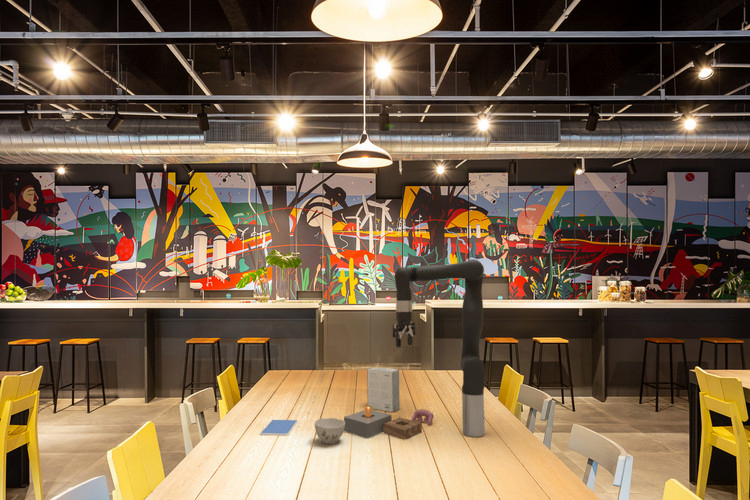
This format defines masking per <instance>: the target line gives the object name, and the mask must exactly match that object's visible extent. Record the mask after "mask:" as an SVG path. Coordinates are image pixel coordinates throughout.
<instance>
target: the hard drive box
mask: <svg viewBox="0 0 750 500" xmlns="http://www.w3.org/2000/svg"><path fill="white" fill-rule="evenodd" d="M366 373H367V379H366V380H367V406H371V410H376V411H378V410H379V411H383V412H390V413H394V412H396V411H398V410H400V409H401V408H400V407H401V406H400V402H401V401H400V370H399V369H395V368H386V367H377V366H376V367H375V366H373V367H372V368H368V369H367V372H366Z"/></svg>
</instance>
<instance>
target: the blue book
mask: <svg viewBox="0 0 750 500" xmlns="http://www.w3.org/2000/svg"><path fill="white" fill-rule="evenodd" d="M298 422H299V421H298V420H297V419H272V420H270V422H269V423H268V424H267V425H266V426H265V428H263V429H262V431H260V433H259V435H260V436H276V437H277V436H281V437H283V436H289V435H290V433H291V432H292V431H293V429H294V427H295V426H296V425H297V424H298Z"/></svg>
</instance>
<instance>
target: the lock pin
mask: <svg viewBox="0 0 750 500" xmlns="http://www.w3.org/2000/svg"><path fill="white" fill-rule="evenodd" d="M364 410H365V418H371V410H372V409H371V406H368V405H365V406H364Z"/></svg>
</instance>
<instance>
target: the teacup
mask: <svg viewBox="0 0 750 500" xmlns="http://www.w3.org/2000/svg"><path fill="white" fill-rule="evenodd" d="M344 427H345V421H344V419H341V418H340V419H339V418H336V417H325V418H323V417H322V418H319V419H317V420H315V421H314V429H315V432H316V435H317V437H318V438H319V439H320V440H321V442H322V443H323V444H325V445H333V444H336V443H337V442H338V440H340V438H341V437H342V435H343V433H344V432H345V431H344ZM320 440H319V441H320Z"/></svg>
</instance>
